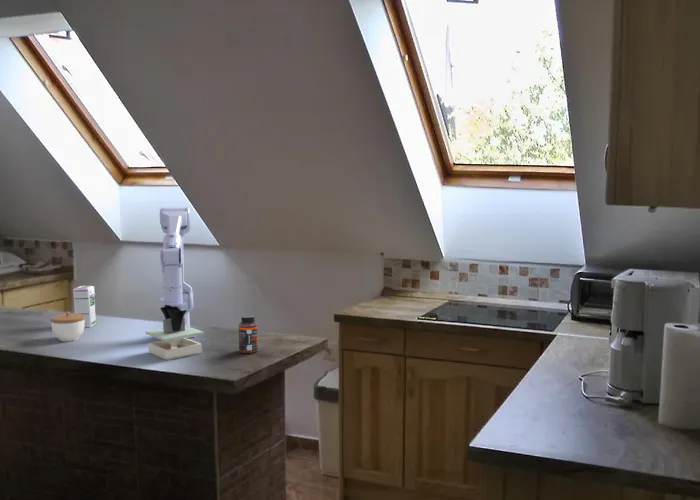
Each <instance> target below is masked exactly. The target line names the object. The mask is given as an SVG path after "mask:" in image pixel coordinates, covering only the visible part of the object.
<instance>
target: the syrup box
mask: <svg viewBox="0 0 700 500" xmlns="http://www.w3.org/2000/svg"><path fill="white" fill-rule="evenodd" d="M72 292H73V293H72V294H73V304H74V305H73V307H74V314H83V315H84V316H85V326H84V329H85V327H87V328H92V327H94V326H95V325H97V324H98V322H97V320H98V319H97V309H96V307H97V306H96V293H95V286H94V285H79V286H78V287H77V286H76V287H75V288H73V290H72Z"/></svg>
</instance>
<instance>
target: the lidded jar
mask: <svg viewBox="0 0 700 500" xmlns="http://www.w3.org/2000/svg"><path fill="white" fill-rule="evenodd" d="M50 322H51V326H50V327H51V330H52V333H53V335H54V336H55V338H57V339H58V340H59V341H60V342H72V340H74V341H77V340H79V339H80V337H81V336H82V335H83V333H84V331H85V328H84V326H85V316H84V315H83V314H75V313H70V312H69V311H66V312H65V313H63V314H57V315H53V316H51V318H50ZM78 338H79V339H78ZM76 339H77V340H76Z"/></svg>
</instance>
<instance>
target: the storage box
mask: <svg viewBox="0 0 700 500" xmlns="http://www.w3.org/2000/svg"><path fill="white" fill-rule="evenodd" d="M147 344H148V345H147V346H148V348H147V349H148V354H150V355H153V356H155V357H156V358H160V359H162V360H165V361H170V360H176V359H179V358H185V357H189V356H195V355H200V354H203V346H202V345H203V344H202V343H201V342H199V341H195V340H192V339H190V338H181V339H175V340H170V341H163V340H160V341H153V342H147Z"/></svg>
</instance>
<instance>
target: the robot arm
mask: <svg viewBox="0 0 700 500" xmlns="http://www.w3.org/2000/svg"><path fill="white" fill-rule="evenodd" d="M191 219H192V217H191V208H190V207H189V206H187V207H161V208H160V209H159V223H160V228H161V230H162V232H163V234H165V235H164V237H163V242H162V243H163V244H162V249H161V250H160V252H159V262H160V266H161V273H162V297H159V305H162V307H160V311H161V312H162V314H163V320H164V319H171V322H172V329H173V331H180V329H181V324H182V320H183V318H185V326H188V327H191V324H190V323H191V319H190V316H191V315H190V312H191V310H193V309H194V292H193V288H192V286H191V285H189V284H188V283H186V282H185V268H184V267H185V266H184V262H185V261H184V257H185V255H184V238H185V235H186V234H188V233H190V231H191V221H192V220H191ZM195 337H196V336H192V337H186V338H187V339H190V338H195Z"/></svg>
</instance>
